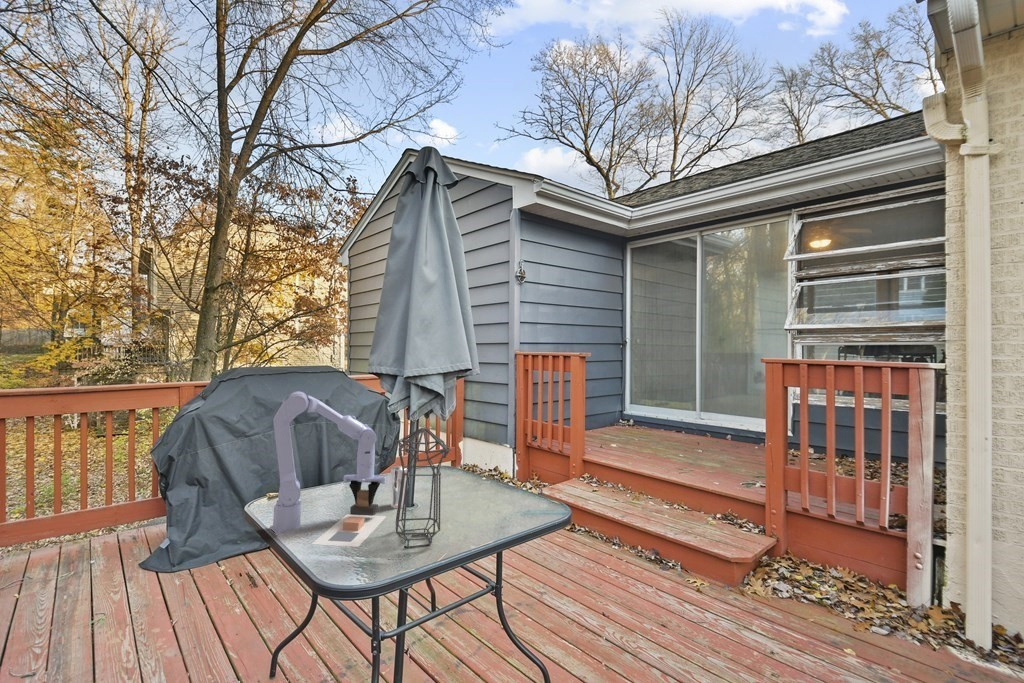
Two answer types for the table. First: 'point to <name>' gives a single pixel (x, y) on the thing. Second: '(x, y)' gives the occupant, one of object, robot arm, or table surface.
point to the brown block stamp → (363, 505)
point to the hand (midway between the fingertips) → (364, 503)
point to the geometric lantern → (445, 448)
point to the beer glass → (396, 485)
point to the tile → (353, 523)
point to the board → (349, 532)
